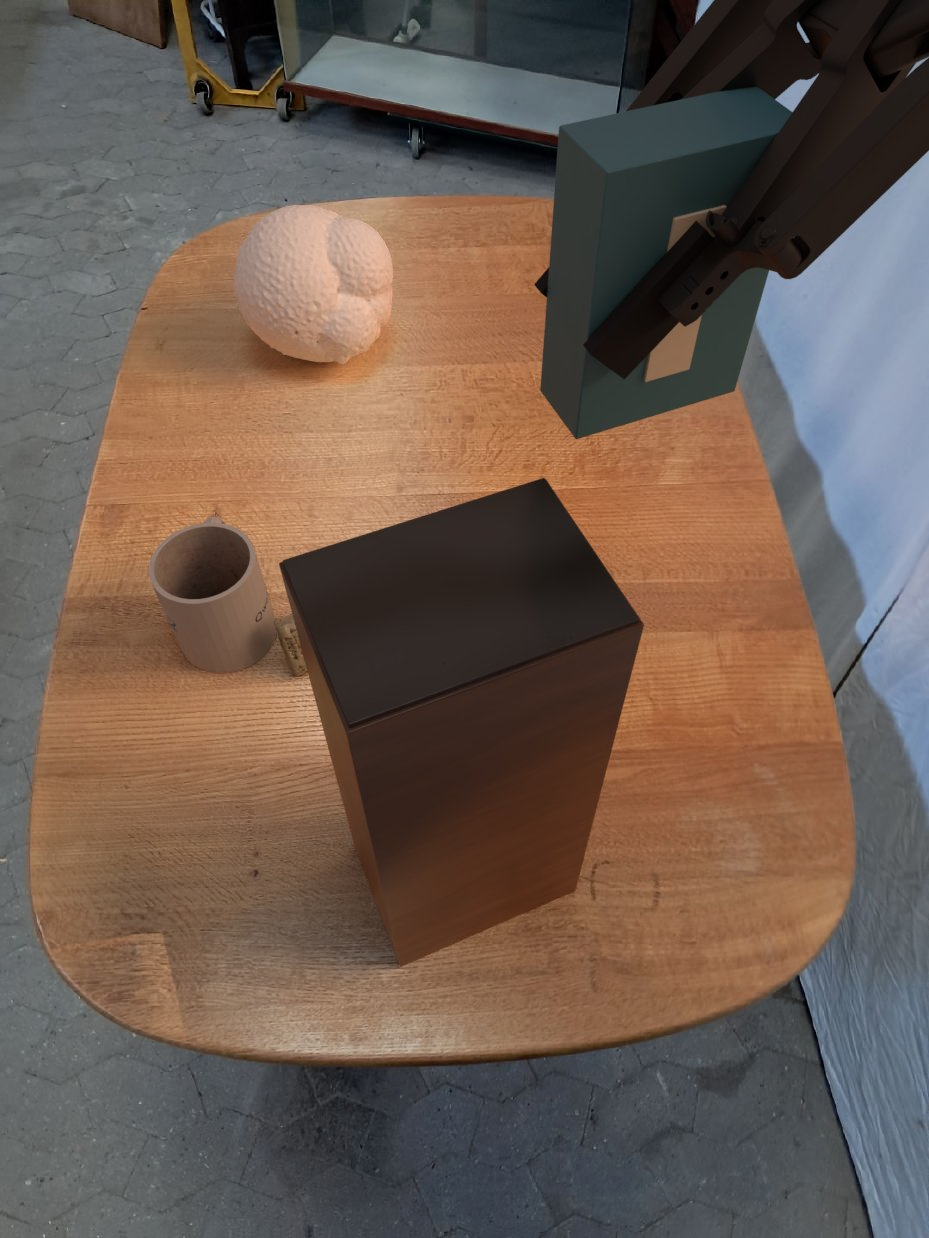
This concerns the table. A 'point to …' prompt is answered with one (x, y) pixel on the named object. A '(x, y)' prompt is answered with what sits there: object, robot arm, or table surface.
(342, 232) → the decorative orb
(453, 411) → the table surface
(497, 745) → the pedestal
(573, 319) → the teal box
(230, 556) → the mug
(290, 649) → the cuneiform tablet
